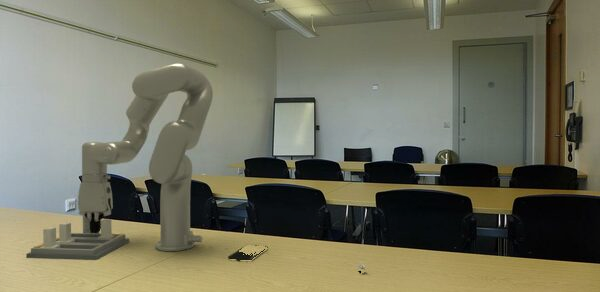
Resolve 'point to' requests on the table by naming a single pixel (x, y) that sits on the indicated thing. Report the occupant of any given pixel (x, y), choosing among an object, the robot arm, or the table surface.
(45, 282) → the table surface
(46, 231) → the left tab
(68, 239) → the middle tab
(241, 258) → the phone
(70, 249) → the switch bank
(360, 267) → the adhesive hook
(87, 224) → the energy drink
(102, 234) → the right tab
